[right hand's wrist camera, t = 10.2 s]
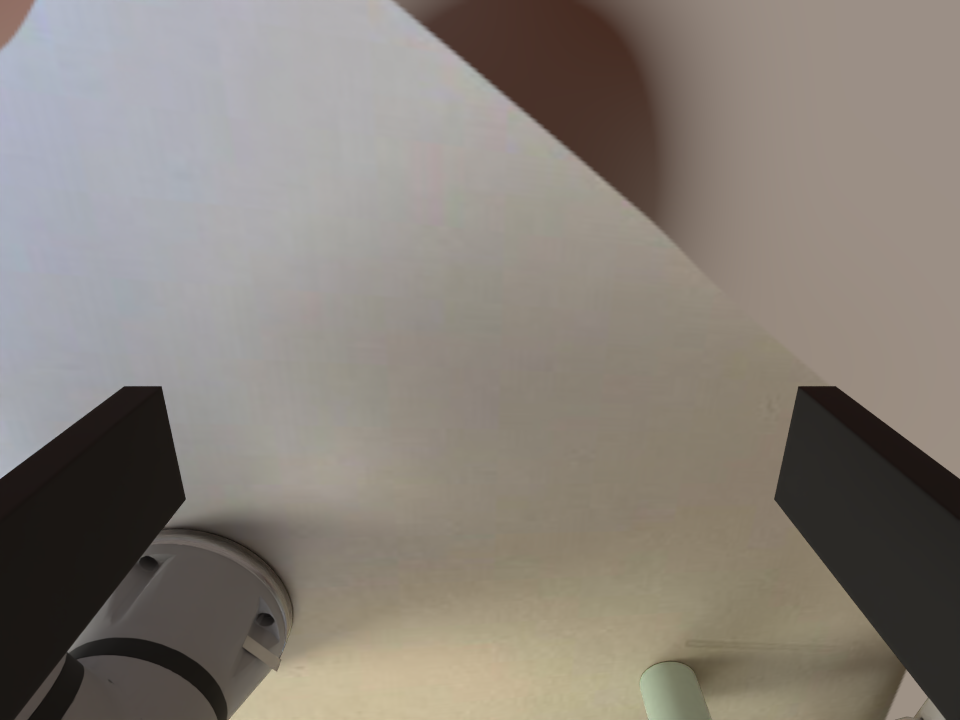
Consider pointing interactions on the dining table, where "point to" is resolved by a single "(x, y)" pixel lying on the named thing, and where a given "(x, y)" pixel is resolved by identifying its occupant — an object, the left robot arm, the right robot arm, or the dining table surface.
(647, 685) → the jar
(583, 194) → the dining table surface
